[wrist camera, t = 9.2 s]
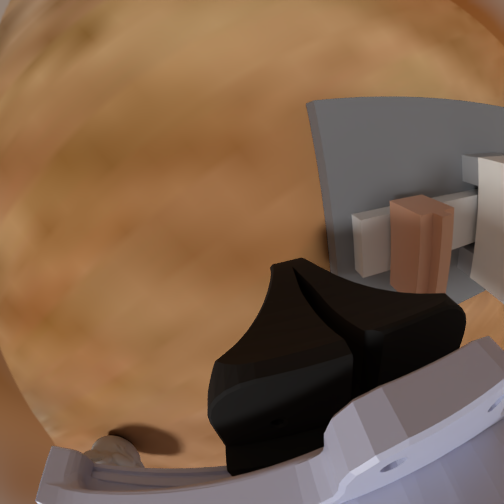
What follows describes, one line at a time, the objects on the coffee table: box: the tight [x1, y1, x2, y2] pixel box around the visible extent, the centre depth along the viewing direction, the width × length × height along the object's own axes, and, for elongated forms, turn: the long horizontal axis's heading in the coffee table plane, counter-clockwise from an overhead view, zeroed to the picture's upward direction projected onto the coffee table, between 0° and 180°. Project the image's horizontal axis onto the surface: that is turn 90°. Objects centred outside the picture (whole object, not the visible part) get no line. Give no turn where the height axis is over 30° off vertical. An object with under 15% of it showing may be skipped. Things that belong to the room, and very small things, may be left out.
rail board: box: [306, 97, 504, 304], centre depth 13 cm, size 14×20×3 cm
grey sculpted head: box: [84, 435, 145, 468], centre depth 18 cm, size 6×7×7 cm
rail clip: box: [390, 195, 454, 294], centre depth 11 cm, size 4×2×3 cm, turn 12°
